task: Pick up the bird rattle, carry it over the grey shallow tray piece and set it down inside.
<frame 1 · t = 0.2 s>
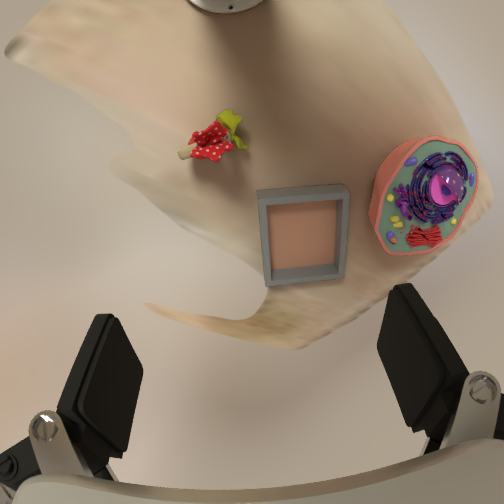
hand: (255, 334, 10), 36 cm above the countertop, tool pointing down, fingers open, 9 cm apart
cell model: (405, 181, 45), on the countertop
bird rattle: (215, 137, 40), on the countertop
grey shallow tray piece: (301, 231, 49), on the countertop
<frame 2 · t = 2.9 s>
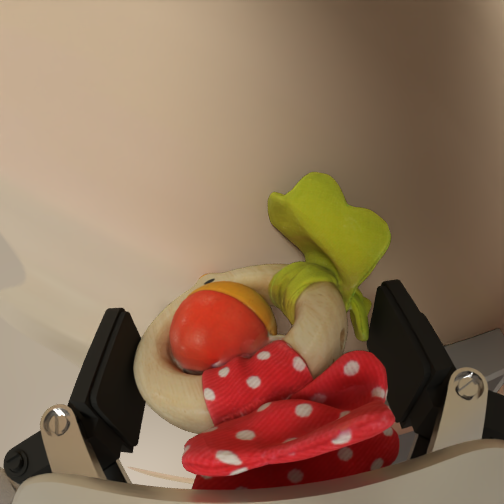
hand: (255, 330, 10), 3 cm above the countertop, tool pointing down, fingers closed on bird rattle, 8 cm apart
bird rattle: (261, 258, 13), on the countertop, touching gripper
grey shallow tray piece: (407, 404, 21), on the countertop
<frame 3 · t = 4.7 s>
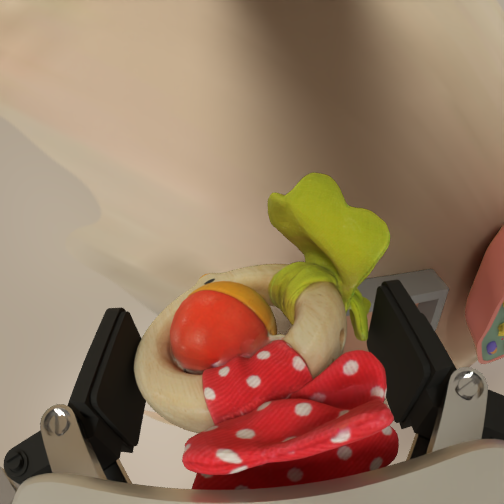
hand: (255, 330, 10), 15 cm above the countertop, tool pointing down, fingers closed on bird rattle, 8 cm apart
cell model: (499, 255, 27), on the countertop
bird rattle: (261, 258, 13), point 11 cm above the countertop, touching gripper
grey shallow tray piece: (367, 334, 31), on the countertop
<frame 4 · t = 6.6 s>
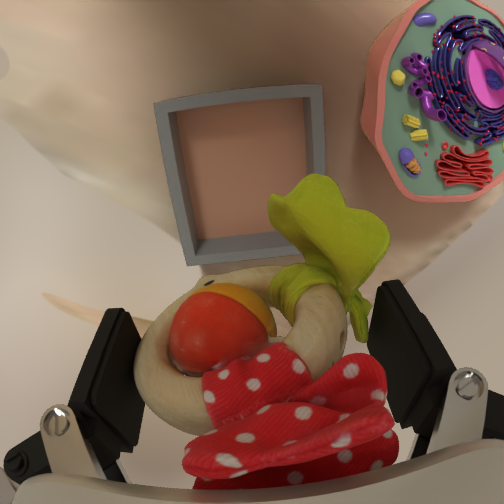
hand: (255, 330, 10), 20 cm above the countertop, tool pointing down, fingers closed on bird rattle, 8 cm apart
cell model: (418, 89, 24), on the countertop
bird rattle: (260, 259, 13), point 17 cm above the countertop, touching gripper
grey shallow tray piece: (246, 169, 28), on the countertop
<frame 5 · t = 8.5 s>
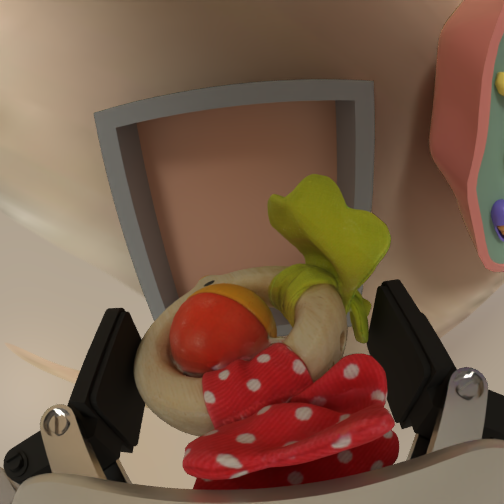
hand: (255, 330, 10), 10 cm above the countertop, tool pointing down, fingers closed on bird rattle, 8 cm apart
cell model: (485, 98, 15), on the countertop
bird rattle: (260, 259, 13), point 6 cm above the countertop, touching gripper
grey shallow tray piece: (246, 209, 19), on the countertop
when the fingers open (5 cm above the countertop, at t = 10.2 s): bird rattle drops 1 cm, resting on grey shallow tray piece.
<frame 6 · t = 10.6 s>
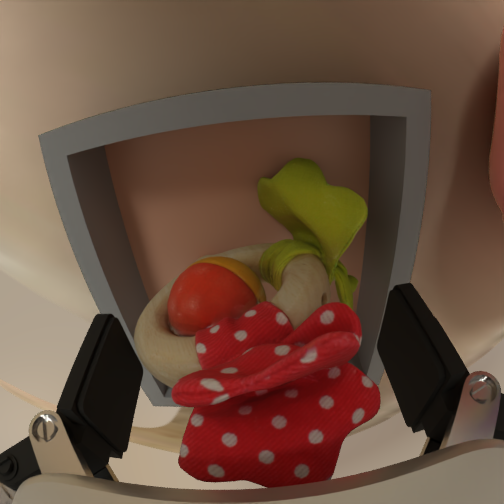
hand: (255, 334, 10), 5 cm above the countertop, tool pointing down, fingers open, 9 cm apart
bird rattle: (253, 240, 14), resting on grey shallow tray piece
grey shallow tray piece: (250, 252, 15), on the countertop
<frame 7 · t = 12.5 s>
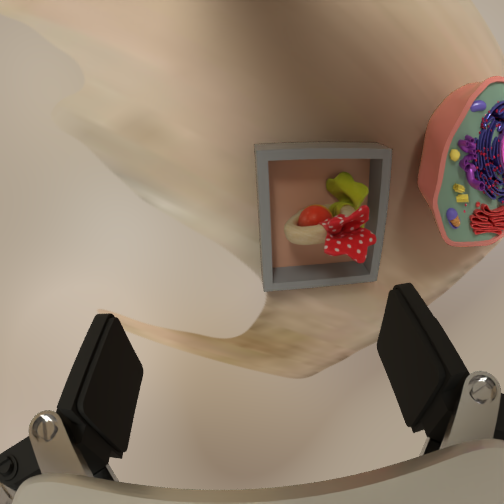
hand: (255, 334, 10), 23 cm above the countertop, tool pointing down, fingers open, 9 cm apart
cell model: (455, 148, 29), on the countertop
bird rattle: (321, 205, 32), resting on grey shallow tray piece
grey shallow tray piece: (318, 210, 33), on the countertop
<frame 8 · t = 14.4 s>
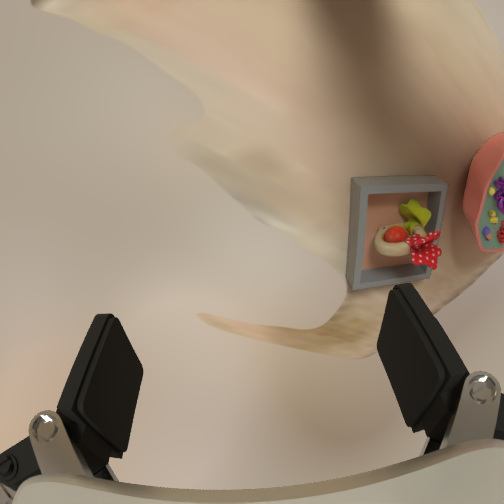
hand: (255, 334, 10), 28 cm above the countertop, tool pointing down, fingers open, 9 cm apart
cell model: (485, 175, 36), on the countertop
bird rattle: (393, 222, 40), resting on grey shallow tray piece
grey shallow tray piece: (391, 226, 40), on the countertop
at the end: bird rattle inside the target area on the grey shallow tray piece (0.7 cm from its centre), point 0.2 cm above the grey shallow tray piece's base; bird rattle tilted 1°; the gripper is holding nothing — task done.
